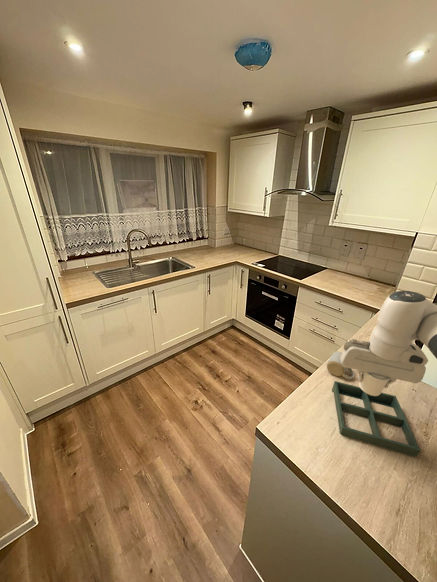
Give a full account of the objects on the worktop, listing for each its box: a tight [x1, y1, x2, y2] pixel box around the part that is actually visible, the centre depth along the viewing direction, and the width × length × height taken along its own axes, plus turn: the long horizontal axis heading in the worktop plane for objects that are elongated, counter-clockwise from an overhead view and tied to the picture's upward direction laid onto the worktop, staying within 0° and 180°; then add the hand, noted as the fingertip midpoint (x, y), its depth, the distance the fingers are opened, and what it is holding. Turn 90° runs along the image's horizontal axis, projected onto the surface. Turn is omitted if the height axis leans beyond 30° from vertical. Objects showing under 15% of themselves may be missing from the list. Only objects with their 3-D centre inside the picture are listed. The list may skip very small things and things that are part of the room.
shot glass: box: [358, 372, 390, 396], centre depth 71 cm, size 7×7×7 cm
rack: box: [331, 380, 421, 458], centre depth 79 cm, size 20×20×5 cm
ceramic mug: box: [326, 351, 355, 381], centre depth 99 cm, size 11×8×8 cm
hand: (372, 383), depth 71 cm, fingers closed on shot glass, 5 cm apart
